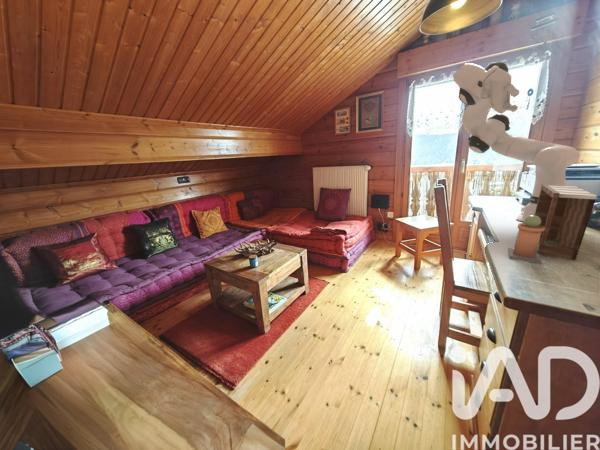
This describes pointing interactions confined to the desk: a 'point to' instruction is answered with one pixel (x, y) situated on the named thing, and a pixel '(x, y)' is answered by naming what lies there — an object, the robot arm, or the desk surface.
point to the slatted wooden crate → (563, 219)
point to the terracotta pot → (528, 236)
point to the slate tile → (528, 259)
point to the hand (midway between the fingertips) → (516, 102)
